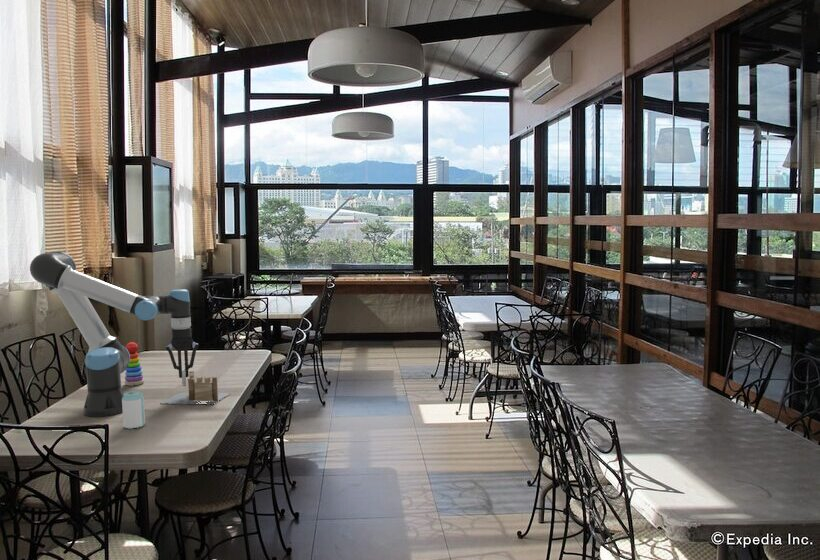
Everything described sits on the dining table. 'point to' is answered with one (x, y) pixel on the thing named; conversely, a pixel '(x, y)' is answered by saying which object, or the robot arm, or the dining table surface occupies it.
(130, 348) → the stacking toy
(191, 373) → the hinged fence panel
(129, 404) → the can
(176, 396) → the card
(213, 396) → the fixed fence section
